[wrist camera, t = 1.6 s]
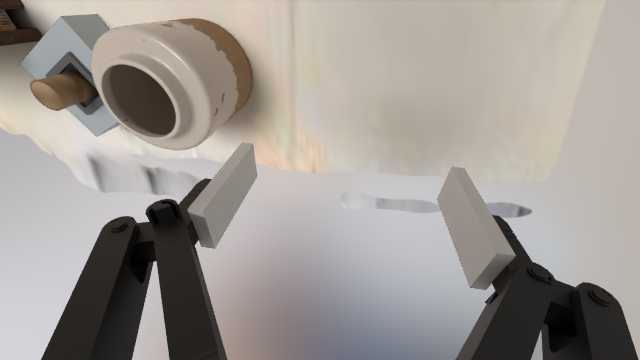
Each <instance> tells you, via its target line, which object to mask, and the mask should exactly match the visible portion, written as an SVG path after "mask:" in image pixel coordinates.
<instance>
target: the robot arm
mask: <svg viewBox="0 0 640 360" xmlns="http://www.w3.org/2000/svg"><path fill="white" fill-rule="evenodd" d="M256 178H257V171H256V163H255V155H254V147H253V144H250V143H241V145H240V146H239V147H238V148H237V150H236V151H235V152H234V153H233V154H232V156H231V157H230V158H229V159H228V160H227V162H226V163H225V164H224V165H223V167H222V168H221V169H220V170H219V172H218V173H217V174H216V175H215V176H214V178H213V179H204V180H202V181H200V182H199V183H197V184H196V185H195V187H194V188H193V189H192V190H191V191H190V192H189V193H188V195H187V196H186V197H185V198H184V199H183V200H182V201H181V202H180V204H179V205H178V204H177V202H176V201H175V200H172V199H164V200H160V201H157V202H154V203H153V204H152V205H150V206H149V207H148V208H147V209H146V215H147V217H148V219H149V221H150V222H143V223H137V222H136V221H135V219H134V218H133V217H129V216H124V217H119V218H116V219H114V220H112V221H110V222H108V223H107V224H106V225H105V226H104V227H103V228H102V230H101V232H100V235H99V237H98V239H97V241H96V243H95V245H94V247H93V250H92V252H91V254H90V256H89V258H88V260H87V262H86V265H85V267H84V269H83V271H82V273H81V275H80V277H79V279H78V282H77V284H76V286H75V288H74V290H73V292H72V295H71V297H70V299H69V301H68V303H67V305H66V308H65V310H64V312H63V314H62V316H61V318H60V320H59V323H58V325H57V327H56V329H55V331H54V333H53V336H52V338H51V340H50V342H49V344H48V346H47V348H46V350H45V352H44V355H43V357H42V359H41V360H132V356H133V351H134V346H135V342H136V338H137V334H138V329H139V325H140V320H141V315H142V311H143V307H144V302H145V297H146V293H147V289H148V284H149V280H150V275H151V271H152V266H153V262H154V261H157V267H158V275H159V283H160V290H161V298H162V305H163V313H164V321H165V328H166V335H167V343H168V350H169V358H170V360H227V357H226V353H225V350H224V346H223V343H222V340H221V336H220V332H219V329H218V325H217V322H216V318H215V315H214V311H213V308H212V304H211V300H210V297H209V293H208V290H207V286H206V283H205V280H204V276H203V272H202V269H201V265H200V262H199V258H198V255H197V251H196V248H195V244H196V243H197V241H198V240H199V241H200V244H201V246H202V247H207V248H214V249H215V247H216V246H217V244H218V243H219V241H220V239H221V237H222V236H223V234H224V232H225V231H226V229H227V227H228V226H229V223H230V222H231V220H232V219H233V217H234V215H235V213H236V212H237V210H238V208H239V207H240V205H241V203H242V202H243V200H244V198H245V196H246V195H247V193H248V191H249V189H250V188H251V186H252V184H253V183H254V181H255V179H256ZM437 200H438V203H439V206H440V209H441V211H442V214H443V217H444V219H445V222H446V225H447V227H448V230H449V233H450V235H451V238H452V241H453V244H454V246H455V248H456V252H457V254H458V257H459V260H460V262H461V265H462V267H463V271H464V273H465V276H466V278H467V281H468V284H469V287H470V288H476V289H483V290H486V289H487V288H488V287H489V286H490V285H491V284H493V286H494V288H495V292H494V293H493V294H492V295H491V296H490V297H489V298H488V299H487V301H486V302H485V303H486V304H487V305H486V306H485V308H484V310H483V312H482V313H481V315H480V317H479V319H478V321H477V323H476V324H475V326H474V328H473V330H472V332H471V333H470V335H469V337H468V339H467V340H466V342H465V344H464V346H463V347H462V349H461V351H460V353H459V355H458V356H457V358H456V360H531V357H532V354H533V351H534V348H535V346H536V343H537V340H538V337H539V334H540V331H541V332H542V349H543V360H638V357H637V354H636V351H635V347H634V344H633V342H632V338H631V335H630V332H629V329H628V326H627V323H626V320H625V317H624V313H623V311H622V308H621V306H620V304H619V302H618V301H617V300H616V299H615V298H614V297H613V295H611V294H610V293H609V292H607V291H606V290H605V289H603V288H601V287H599V286H597V285H594V284H591V283H584V282H583V283H581V284H579V285H578V286H577V287H573V286H570V285H568V284H565V283H562V282H560V281H557V280H555V279H554V277H553V275H552V274H551V273H550V272H549V271H548V270H547V269H545V268H544V267H542V266H541V265H539V264H536V263H534V262H532V261H531V259H530V258H529V256H528V254H527V253H526V251H525V250H524V248H523V247H522V245H521V244H520V242H519V241H518V239H517V237H516V236H515V234H514V233H513V231H512V230H511V228H510V226H509V225H508V223H507V222H505V221H504V220H503V219H502V218H501V217H500V216H495V215H492V214H491V213H490V211H489V209H488V208H487V206H486V204H485V203H484V201H483V199H482V198H481V196H480V194H479V193H478V191H477V189H476V188H475V186H474V184H473V182H472V181H471V179H470V177H469V176H468V174H467V172H466V171H465V169H464V168H456V167H452V168H451V170H450V172H449V174H448V176H447V179H446V181H445V184H444V185H443V187H442V190H441V192H440V194H439V196H438V198H437Z"/></svg>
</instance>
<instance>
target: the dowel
mask: <svg viewBox="0 0 640 360" xmlns="http://www.w3.org/2000/svg"><path fill="white" fill-rule="evenodd" d="M30 88H31V91H32V93H33V95H34V96H35V97H36V99H37V100H38V101H39V102H40V103H42V104H43V105H44V106H46V107H47V108H49V109H52V110H56V111H58V110H62V109H64V108H67V107H70V106H72V105H75V104H78V103H81V102H83V101H86V100H89V99H92V98H94V97H97V96H99V93H98V91H97V89H96V88H95V87H94V86H93V85H92V84H91V83H90V82H89V81H88V80H87V79H86V78H85V77H84V76H83V75H82V74H81V73H80V72H79V71H78V70H74V71H70V72H66V73H62V74H58V75H54V76H50V77H46V78H42V79H38V80H34V81H32V82H31V84H30Z"/></svg>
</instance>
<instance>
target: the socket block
mask: <svg viewBox="0 0 640 360" xmlns="http://www.w3.org/2000/svg"><path fill="white" fill-rule="evenodd" d="M109 30H110V29H109V28H108V27H107V25H106V24H105V23H104V22H103V21H102V19H101V18H100V17H99V16H98V15H97V14H92V15H74V16H60V17H59V18H58V20H57V21H56V22H55V23H54V24H53V25H52V27H51V28H50V29H49V30H48V31H47V33H46V34H45V35H44V36H43V37H42V38H41V40H40V41H39V42H38V43H37V44H36V46H35V47H34V48H33V49H32V50H31V51H30V53H29V54H28V55H27V56H26V57H25V59H24V60H23V61H22V62H21V63H20V64H19V65H20V66H21V67H22V68H23V69H24V70H25V71H26V72H27V73H28V74H30V75H31V76H32V77H33V78H34V79H35V80H38V79H42V78H46V77H50V76H54V75H58V74H62V73H66V72H70V71H74V70H78V71H79V72H80V73H81V74H82V75H83V76H84V77H85V78H86V79H87V80H88V81H89V82H90V83H91V84H92V85H93V86H94V87H95V88H96V86H95V83H94V80H93V76H92V71H91V55H92V50H93V47H94V45H95V43H96V41H97V40H98V39H99V38H100V36H102V35H103V34H104V33H105V32H107V31H109ZM96 89H97V88H96ZM66 109H67V110H68V111H69V112H71V113H72V114H73V115H74V116H75V117H76V118H77V119H78V120H79V121H80V122H81V123H82V124H83V125H85V126H86V127H87V128H88V129H89V130H90V131H91V132H92V133H93V134H94V135H95V136H96V137H98V136H99V135H101V134H103V133H105V132H107V131H109V130H111V129H113V128H115V127H117V126H119V125H121V124H120V123H119V122H118V121H117V120H116V119H115V118H114V117H113V116H112V115H111V113H110V112H109V111H108V109H107V108H106V106H105V105H104V103H103V101H102V99H101V97H100V95H99V96H97V97H94V98H92V99H89V100H86V101H83V102H81V103H78V104H75V105H72V106H70V107H67V108H66Z"/></svg>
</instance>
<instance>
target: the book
mask: <svg viewBox="0 0 640 360" xmlns="http://www.w3.org/2000/svg"><path fill="white" fill-rule="evenodd" d="M11 9H24V5H23V4H22V2H21V0H0V46H3V45H11V44H19V43H26V42H34V41H40V40H41V38H42V37H43V36H42V35H41V33H40V31H39V30H38V29H37V28H33V29H17V28H16V27H15V25H14V24H13V22H12V21H11V19H10V18H9V16H8V15H7V13H6V12H5V10H11Z"/></svg>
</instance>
